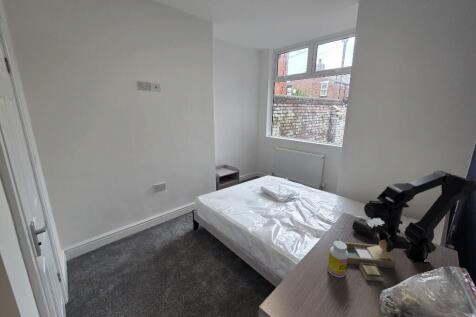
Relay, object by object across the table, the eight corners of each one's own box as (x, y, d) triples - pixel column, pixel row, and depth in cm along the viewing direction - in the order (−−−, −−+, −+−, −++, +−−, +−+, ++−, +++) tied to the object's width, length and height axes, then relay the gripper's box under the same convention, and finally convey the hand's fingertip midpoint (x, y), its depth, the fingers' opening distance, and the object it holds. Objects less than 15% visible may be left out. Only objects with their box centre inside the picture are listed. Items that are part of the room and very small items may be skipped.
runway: (381, 250, 91) (383, 241, 90) (394, 268, 82) (396, 258, 80) (336, 246, 94) (337, 237, 93) (343, 263, 85) (345, 253, 83)
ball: (376, 245, 88) (377, 237, 87) (387, 246, 87) (389, 237, 86) (381, 252, 84) (383, 243, 83) (393, 253, 83) (395, 244, 82)
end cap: (351, 232, 105) (352, 221, 103) (357, 227, 109) (359, 216, 107) (372, 242, 97) (374, 230, 95) (378, 236, 101) (380, 225, 99)
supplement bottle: (337, 281, 76) (342, 253, 73) (323, 268, 82) (326, 242, 79) (349, 274, 79) (353, 247, 76) (334, 262, 85) (338, 237, 81)
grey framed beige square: (374, 268, 82) (375, 264, 81) (382, 281, 76) (383, 276, 75) (359, 267, 82) (359, 262, 82) (365, 279, 77) (366, 274, 76)
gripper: (360, 203, 91) (355, 232, 95) (382, 228, 73) (375, 262, 78) (387, 205, 89) (381, 234, 94) (416, 230, 72) (407, 265, 76)
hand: (384, 248), depth 85 cm, fingers closed on ball, 4 cm apart
